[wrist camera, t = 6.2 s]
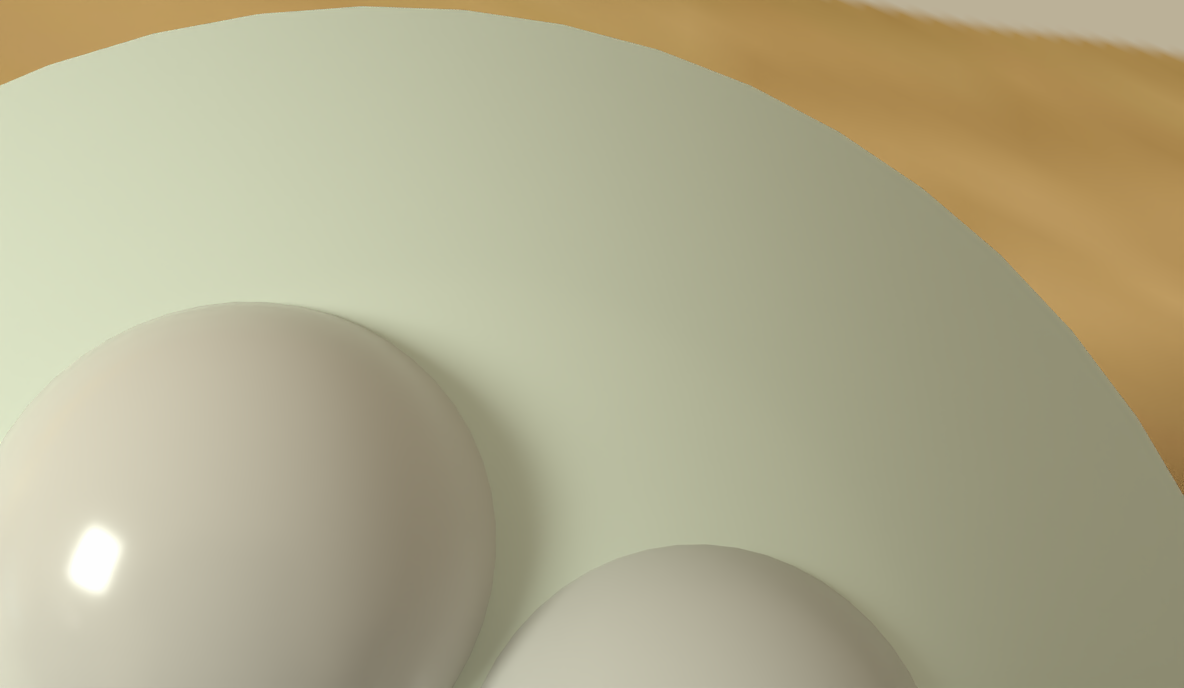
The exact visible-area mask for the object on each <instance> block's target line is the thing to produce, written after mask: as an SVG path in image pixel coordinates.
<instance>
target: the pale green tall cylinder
mask: <svg viewBox="0 0 1184 688" xmlns="http://www.w3.org/2000/svg"><path fill="white" fill-rule="evenodd" d="M0 688H1184V496H1183V494H1182V492H1181V490H1180V489H1179V487H1178V485H1177V484H1176V482H1175V480H1174V479H1173V477H1172V475H1171V474H1170V472H1169V470H1168V469H1167V467H1166V465H1165V463H1164V462H1163V460H1162V458H1161V457H1160V455H1159V453H1158V452H1157V450H1156V448H1155V447H1154V445H1153V443H1152V442H1151V440H1150V438H1149V437H1148V435H1147V433H1146V431H1145V430H1144V428H1143V426H1142V425H1141V423H1140V421H1139V420H1138V418H1137V417H1136V415H1135V414H1134V413H1133V411H1132V410H1131V409H1130V407H1129V406H1128V405H1127V403H1126V402H1125V401H1124V399H1123V398H1122V397H1121V395H1120V394H1119V393H1118V391H1117V390H1116V389H1115V387H1114V386H1113V385H1112V383H1111V382H1110V381H1109V379H1108V378H1107V377H1106V375H1105V374H1104V373H1103V371H1102V370H1101V369H1100V367H1099V366H1098V365H1097V363H1096V362H1095V361H1094V360H1093V358H1092V357H1091V356H1090V354H1089V353H1088V352H1087V350H1086V349H1085V348H1084V346H1083V345H1082V344H1081V342H1080V341H1079V340H1078V338H1077V337H1076V336H1075V334H1074V333H1073V332H1072V330H1071V329H1070V328H1069V327H1068V326H1067V325H1066V324H1065V323H1064V322H1063V321H1062V320H1061V319H1060V318H1059V317H1058V316H1057V315H1056V313H1055V312H1054V311H1053V310H1052V309H1051V308H1050V307H1049V306H1048V305H1047V304H1046V303H1045V302H1044V301H1043V300H1042V299H1041V298H1040V296H1039V295H1038V294H1037V293H1036V292H1035V291H1034V290H1033V289H1032V288H1031V287H1030V286H1029V285H1028V284H1027V283H1026V282H1025V281H1024V279H1023V278H1022V277H1021V276H1020V275H1019V274H1018V273H1017V272H1016V271H1015V270H1014V269H1013V268H1012V267H1011V266H1010V265H1009V263H1008V262H1007V261H1006V260H1005V259H1004V258H1003V257H1002V256H1001V255H1000V254H999V253H998V252H996V251H995V250H994V249H993V248H992V247H991V246H989V245H988V244H987V243H986V242H985V241H984V240H982V239H981V238H980V237H979V236H978V235H977V234H975V233H974V232H973V231H972V230H971V229H969V228H968V227H967V226H966V225H965V224H964V223H962V222H961V221H960V220H959V219H958V218H957V217H955V216H954V215H953V214H952V213H951V212H949V211H948V210H947V209H946V208H945V207H944V206H942V205H941V204H940V203H939V202H938V201H937V200H935V199H934V198H933V197H932V196H931V195H930V194H928V193H927V192H926V191H925V190H924V189H922V188H921V187H920V186H918V185H917V184H915V183H914V182H912V181H911V180H909V179H908V178H906V177H905V176H903V175H902V174H900V173H899V172H897V171H896V170H894V169H893V168H891V167H890V166H889V165H887V164H886V163H884V162H883V161H881V160H880V159H878V158H877V157H875V156H874V155H872V154H871V153H869V152H868V151H866V150H865V149H863V148H862V147H860V146H859V145H857V144H856V143H854V142H853V141H851V140H850V139H849V138H847V137H846V136H844V135H843V134H841V133H840V132H838V131H836V130H834V129H832V128H830V127H828V126H827V125H825V124H823V123H821V122H819V121H817V120H815V119H813V118H811V117H809V116H807V115H806V114H804V113H802V112H800V111H798V110H796V109H794V108H792V107H790V106H788V105H786V104H785V103H783V102H781V101H779V100H777V99H775V98H773V97H771V96H769V95H767V94H765V93H764V92H762V91H760V90H758V89H756V88H754V87H752V86H750V85H747V84H745V83H742V82H740V81H737V80H735V79H732V78H729V77H727V76H724V75H722V74H719V73H717V72H714V71H711V70H709V69H706V68H704V67H701V66H698V65H696V64H693V63H691V62H688V61H686V60H683V59H680V58H678V57H675V56H673V55H670V54H668V53H665V52H662V51H660V50H657V49H653V48H649V47H645V46H642V45H638V44H634V43H630V42H626V41H623V40H619V39H615V38H611V37H608V36H604V35H600V34H596V33H592V32H589V31H585V30H581V29H577V28H573V27H570V26H566V25H562V24H555V23H548V22H542V21H535V20H528V19H521V18H514V17H508V16H501V15H494V14H487V13H481V12H474V11H467V10H450V9H422V8H393V7H365V6H360V7H347V8H334V9H320V10H307V11H294V12H280V13H267V14H257V15H251V16H246V17H240V18H235V19H230V20H224V21H219V22H214V23H208V24H203V25H198V26H192V27H187V28H181V29H176V30H171V31H165V32H160V33H155V34H151V35H148V36H144V37H141V38H138V39H134V40H131V41H128V42H124V43H121V44H118V45H114V46H111V47H108V48H104V49H101V50H98V51H94V52H91V53H88V54H85V55H81V56H78V57H75V58H71V59H68V60H65V61H61V62H58V63H55V64H51V65H48V66H46V67H43V68H41V69H39V70H36V71H34V72H31V73H29V74H27V75H24V76H22V77H20V78H17V79H15V80H13V81H10V82H8V83H5V84H3V85H1V86H0Z"/></svg>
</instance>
